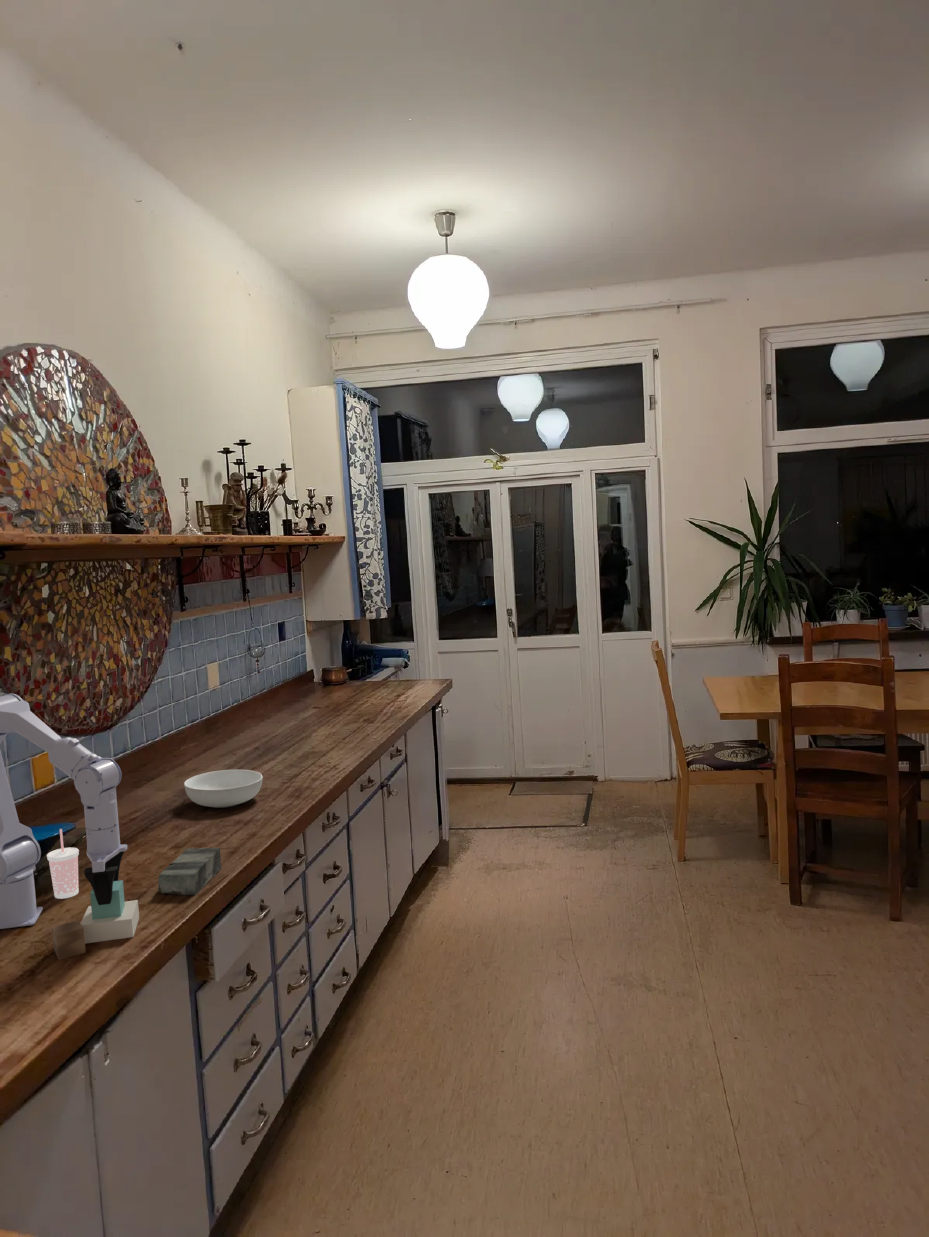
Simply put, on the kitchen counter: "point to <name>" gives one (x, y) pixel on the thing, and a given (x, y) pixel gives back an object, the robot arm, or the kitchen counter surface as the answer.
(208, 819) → the kitchen counter surface
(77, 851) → the beverage cup
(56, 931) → the walnut cube
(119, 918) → the ceramic base
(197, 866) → the stone block
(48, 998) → the kitchen counter surface
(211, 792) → the serving bowl
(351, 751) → the kitchen counter surface
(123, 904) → the teal cube
